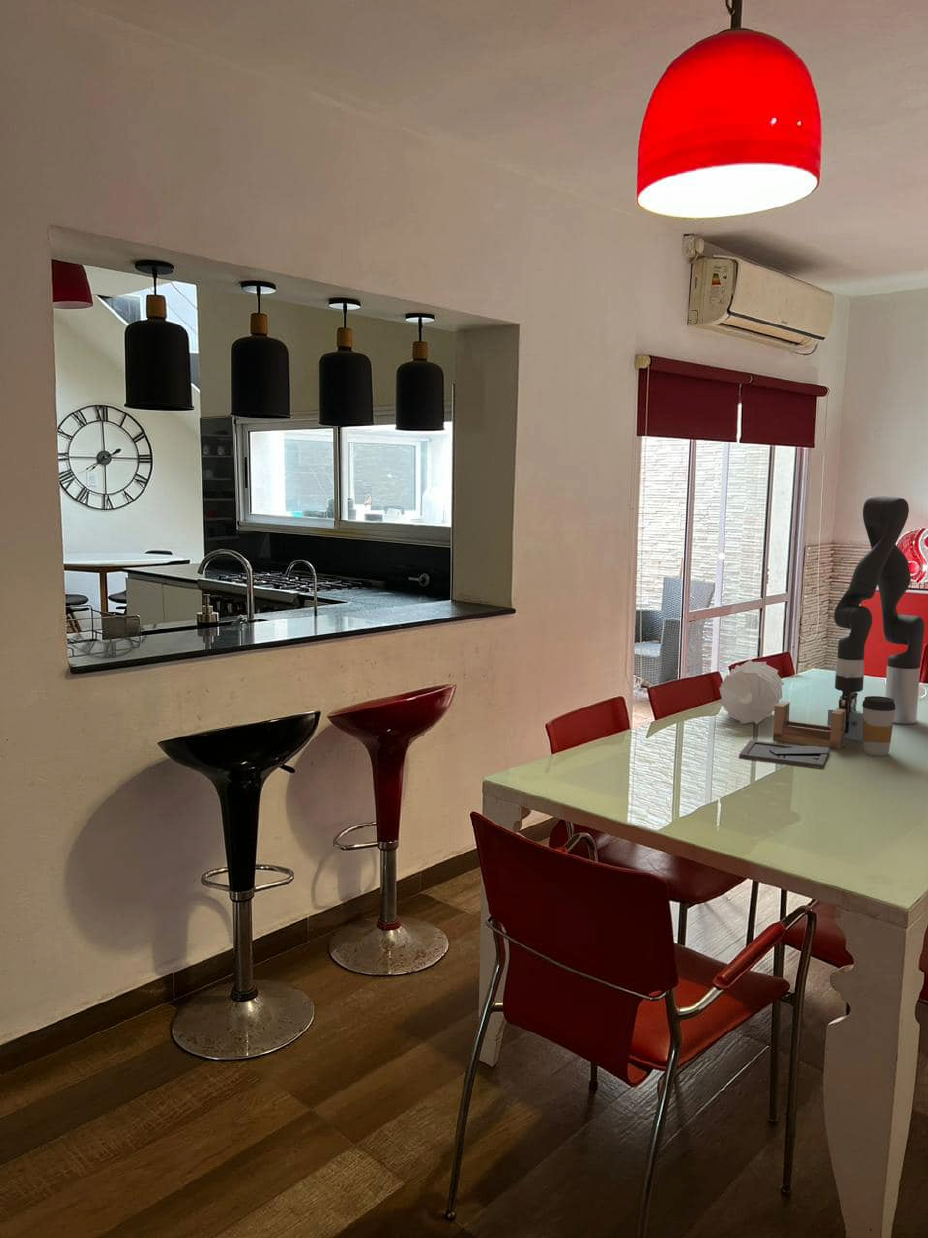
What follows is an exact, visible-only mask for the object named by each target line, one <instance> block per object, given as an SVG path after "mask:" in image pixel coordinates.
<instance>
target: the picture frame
mask: <svg viewBox="0 0 928 1238" xmlns="http://www.w3.org/2000/svg"><path fill="white" fill-rule="evenodd" d="M830 749H831V748H827V747H820V746H814V745H804V746H803V745H795V744H786V743H780V742H779V743H778V742H769V741H762V740H753V739H750V740H749V741H748V742H747V744H746V745H745V746H744V747H743V748H742V750H741V751H740V752H739V755H738V757H739V759H745V760H746V759H747V760H753V761H762V762H769V763H776V764H777V763H778V764H784V765H790V766H791V765H793V766H800V767H807V768H814V767H819V768H818V769H822V768H824V766H825V764H826V763H827V761H828V760H827V759H828V757H829V755H830V751H831V750H830Z"/></svg>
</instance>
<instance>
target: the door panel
mask: <svg viewBox="0 0 928 1238" xmlns="http://www.w3.org/2000/svg"><path fill="white" fill-rule="evenodd" d="M836 708H837V707H829V708H828V709H827V725H826V726H831V713H832V712H833V711H834V710H835V709H836ZM845 738H850V739H849V740H852V739H855V740H854V741H860V740H862V741H861V742H863V710H857V709H856V710H853V711H852V713H851V714H850V720H849V732H848V733H847V734H846V733H845Z"/></svg>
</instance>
